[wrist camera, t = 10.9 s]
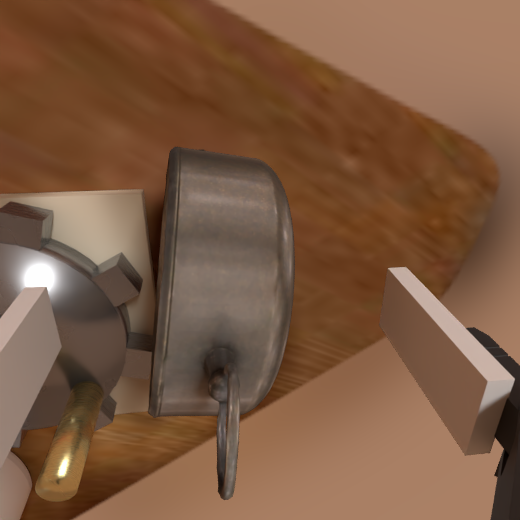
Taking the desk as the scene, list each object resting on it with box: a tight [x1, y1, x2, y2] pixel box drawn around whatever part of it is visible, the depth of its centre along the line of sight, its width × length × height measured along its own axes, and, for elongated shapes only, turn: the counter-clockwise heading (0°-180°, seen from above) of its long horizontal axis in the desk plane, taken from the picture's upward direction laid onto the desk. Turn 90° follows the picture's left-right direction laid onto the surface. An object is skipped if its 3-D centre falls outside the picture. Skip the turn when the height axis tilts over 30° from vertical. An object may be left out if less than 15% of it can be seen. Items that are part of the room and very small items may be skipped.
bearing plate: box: [0, 189, 156, 415], centre depth 24 cm, size 15×15×1 cm
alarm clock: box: [148, 147, 295, 500], centre depth 17 cm, size 11×5×16 cm, turn 169°
